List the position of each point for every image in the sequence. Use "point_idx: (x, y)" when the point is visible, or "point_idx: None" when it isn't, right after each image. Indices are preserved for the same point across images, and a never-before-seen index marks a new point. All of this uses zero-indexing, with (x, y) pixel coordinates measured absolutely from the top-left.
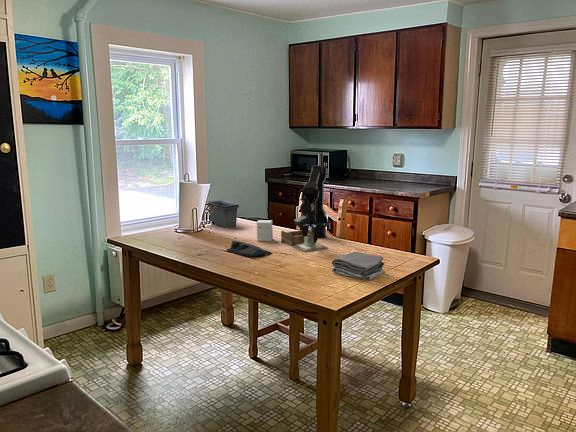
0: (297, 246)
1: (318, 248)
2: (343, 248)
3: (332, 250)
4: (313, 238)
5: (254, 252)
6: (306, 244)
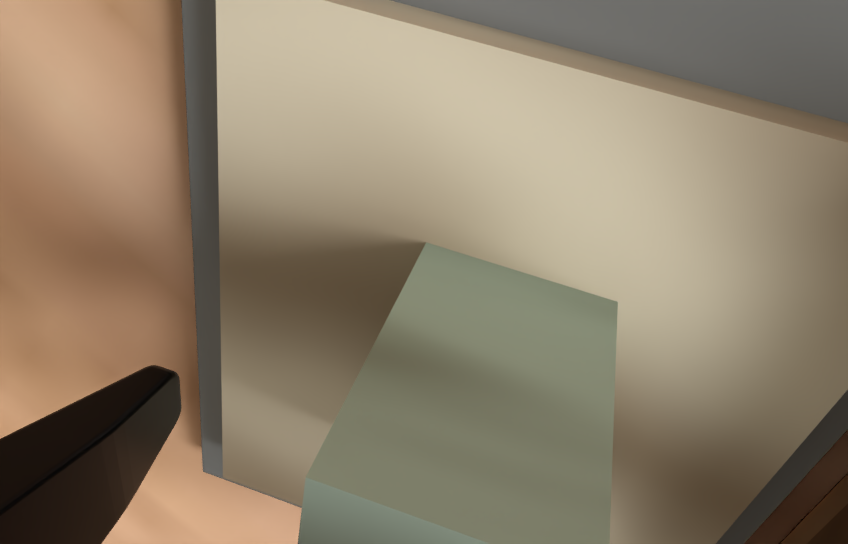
0: (826, 122)
1: None
2: (116, 541)
3: None
4: (39, 468)
5: None
6: (464, 285)
